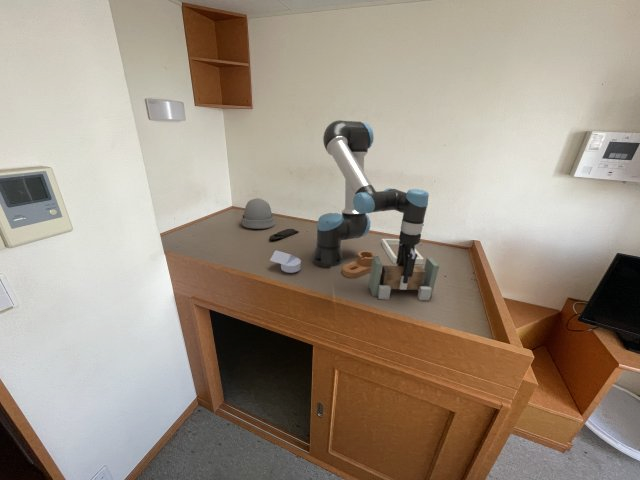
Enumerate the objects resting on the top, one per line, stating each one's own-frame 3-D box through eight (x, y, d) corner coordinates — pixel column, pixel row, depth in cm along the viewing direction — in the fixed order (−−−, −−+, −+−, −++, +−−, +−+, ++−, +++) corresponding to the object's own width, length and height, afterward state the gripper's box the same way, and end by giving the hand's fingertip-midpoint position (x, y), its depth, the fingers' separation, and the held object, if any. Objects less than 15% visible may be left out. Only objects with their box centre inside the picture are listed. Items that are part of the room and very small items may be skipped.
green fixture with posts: (373, 299, 104) (378, 267, 99) (367, 282, 115) (371, 253, 110) (434, 300, 105) (442, 268, 100) (422, 283, 117) (429, 254, 111)
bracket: (364, 262, 134) (365, 249, 131) (377, 268, 128) (379, 255, 125) (338, 272, 123) (339, 259, 120) (351, 280, 117) (353, 266, 114)
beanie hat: (276, 235, 180) (282, 206, 183) (265, 229, 159) (271, 196, 162) (248, 231, 184) (253, 203, 187) (233, 225, 163) (239, 193, 166)
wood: (290, 228, 169) (291, 224, 168) (299, 232, 166) (300, 228, 164) (263, 238, 153) (263, 233, 152) (272, 243, 149) (272, 238, 148)
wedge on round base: (269, 266, 124) (293, 274, 118) (269, 253, 121) (294, 260, 116) (281, 259, 131) (304, 266, 126) (281, 246, 129) (304, 253, 123)
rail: (382, 288, 107) (385, 270, 104) (379, 282, 111) (382, 265, 108) (422, 289, 108) (426, 271, 105) (417, 283, 112) (421, 266, 109)
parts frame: (393, 263, 133) (394, 258, 132) (381, 243, 156) (381, 238, 155) (422, 264, 134) (424, 259, 133) (406, 244, 157) (407, 239, 156)
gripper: (430, 241, 92) (417, 298, 101) (412, 224, 109) (402, 274, 118) (408, 240, 92) (398, 297, 101) (394, 223, 108) (385, 274, 117)
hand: (400, 285), depth 109 cm, fingers closed on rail, 4 cm apart
